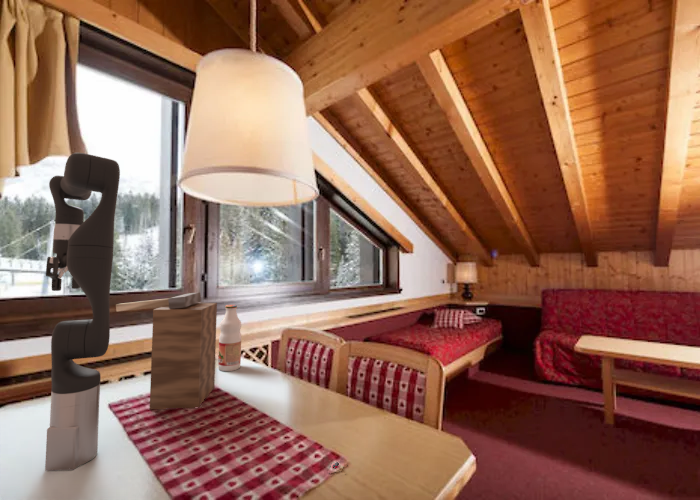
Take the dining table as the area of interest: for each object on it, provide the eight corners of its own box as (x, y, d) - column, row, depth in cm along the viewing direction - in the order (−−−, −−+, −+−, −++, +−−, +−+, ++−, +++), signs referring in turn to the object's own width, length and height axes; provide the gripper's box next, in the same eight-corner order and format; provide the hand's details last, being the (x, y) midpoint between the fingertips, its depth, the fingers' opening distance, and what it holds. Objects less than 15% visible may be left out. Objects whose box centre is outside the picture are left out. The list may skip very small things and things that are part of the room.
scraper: (185, 307, 112) (184, 296, 112) (104, 316, 109) (103, 305, 109) (201, 301, 128) (200, 292, 128) (131, 309, 125) (130, 299, 125)
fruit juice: (235, 372, 146) (237, 307, 147) (214, 371, 147) (216, 306, 148) (243, 365, 155) (245, 304, 156) (224, 364, 156) (225, 303, 157)
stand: (198, 408, 110) (201, 309, 111) (149, 409, 109) (153, 309, 110) (214, 387, 128) (216, 302, 129) (172, 388, 127) (175, 302, 128)
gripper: (65, 237, 102) (62, 291, 101) (95, 240, 116) (93, 287, 116) (38, 237, 101) (35, 291, 101) (72, 240, 115) (69, 287, 115)
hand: (66, 289), depth 108 cm, fingers open, 8 cm apart
